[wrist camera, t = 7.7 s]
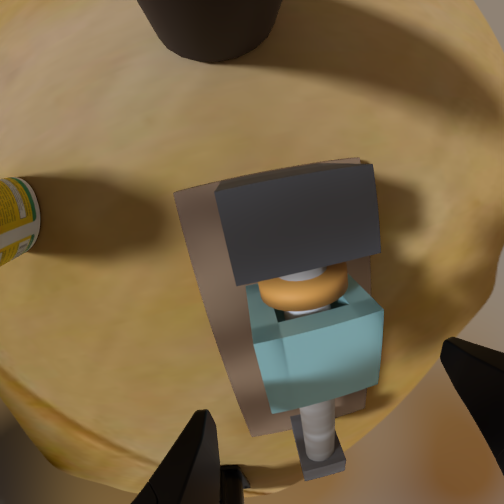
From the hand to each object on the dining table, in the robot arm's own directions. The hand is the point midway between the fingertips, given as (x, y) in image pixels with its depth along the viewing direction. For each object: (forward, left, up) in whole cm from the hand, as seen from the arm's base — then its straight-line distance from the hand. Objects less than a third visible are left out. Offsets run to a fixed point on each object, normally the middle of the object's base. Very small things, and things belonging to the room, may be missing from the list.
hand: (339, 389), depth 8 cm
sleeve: (0, 0, -6) cm, 6 cm away
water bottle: (+17, +1, -9) cm, 19 cm away
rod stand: (-3, 0, -9) cm, 9 cm away
